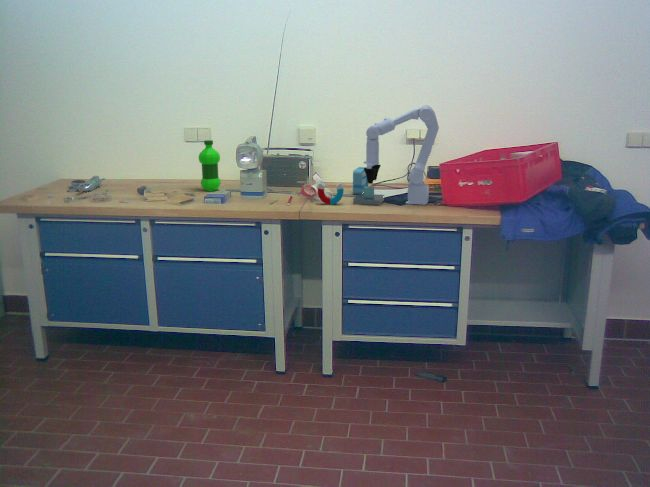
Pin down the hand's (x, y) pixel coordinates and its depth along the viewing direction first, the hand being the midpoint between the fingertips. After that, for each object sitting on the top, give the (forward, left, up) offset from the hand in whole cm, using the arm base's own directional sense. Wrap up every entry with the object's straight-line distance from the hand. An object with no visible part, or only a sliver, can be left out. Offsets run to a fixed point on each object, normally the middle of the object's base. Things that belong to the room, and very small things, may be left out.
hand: (372, 181), depth 302 cm
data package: (+10, -18, -10) cm, 23 cm away
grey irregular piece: (+148, +16, -10) cm, 150 cm away
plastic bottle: (+84, -2, -10) cm, 84 cm away
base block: (+1, +2, -9) cm, 10 cm away
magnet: (+17, +11, -10) cm, 22 cm away
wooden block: (+1, +2, -7) cm, 7 cm away
